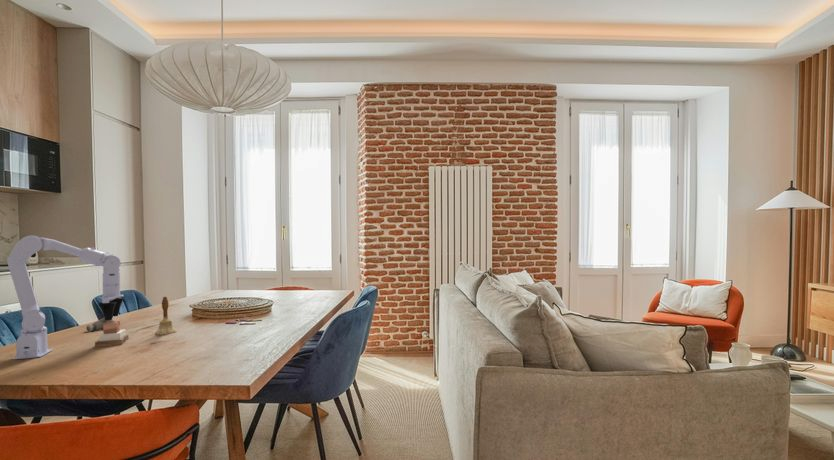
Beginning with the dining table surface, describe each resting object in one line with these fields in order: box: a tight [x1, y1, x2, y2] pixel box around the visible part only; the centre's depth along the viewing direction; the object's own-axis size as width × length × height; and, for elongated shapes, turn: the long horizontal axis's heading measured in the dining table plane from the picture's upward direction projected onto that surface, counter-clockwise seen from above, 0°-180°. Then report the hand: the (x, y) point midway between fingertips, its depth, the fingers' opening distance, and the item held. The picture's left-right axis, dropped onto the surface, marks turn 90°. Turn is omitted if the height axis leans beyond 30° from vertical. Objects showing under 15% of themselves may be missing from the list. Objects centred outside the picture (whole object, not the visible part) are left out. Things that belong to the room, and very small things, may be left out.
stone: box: [85, 316, 114, 332], centre depth 194 cm, size 10×5×8 cm
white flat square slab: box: [98, 328, 127, 341], centre depth 171 cm, size 7×7×2 cm
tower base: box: [94, 334, 129, 348], centre depth 170 cm, size 9×9×2 cm
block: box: [102, 320, 121, 334], centre depth 170 cm, size 4×4×4 cm
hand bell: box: [154, 296, 177, 336], centre depth 187 cm, size 8×8×16 cm
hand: (111, 318), depth 170 cm, fingers open, 7 cm apart
